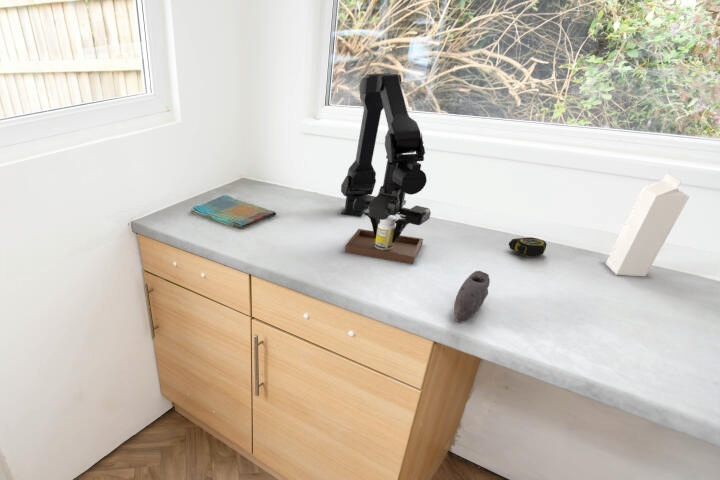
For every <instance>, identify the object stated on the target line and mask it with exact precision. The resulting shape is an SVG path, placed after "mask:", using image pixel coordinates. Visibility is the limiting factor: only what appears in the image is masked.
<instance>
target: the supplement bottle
mask: <svg viewBox="0 0 720 480" xmlns="http://www.w3.org/2000/svg"><path fill="white" fill-rule="evenodd" d="M397 217H398V216H396V215H395V216H393V215H390V216H388V218H387V219H385V220H381V219H380V223H379V224H378V228H377V234H376V241H375V247H376V248H377V249H380V250H390V249H392V248H393V245H394V243H392V240H393V235H394V231H395V227H396V223H395V221H396V220H398V218H397Z"/></svg>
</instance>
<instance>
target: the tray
mask: <svg viewBox="0 0 720 480" xmlns="http://www.w3.org/2000/svg"><path fill="white" fill-rule="evenodd" d="M375 241H376V238H375V236H374V231H373V230H369V229H363V228H358V229H357V230H356V232H354V233H353V235H352V237H351V238H350V239H349V240H348V242H347V243H346V244H345V249H344V253H347V254H353V255H358V256H363V257H369V258H375V259H380V260H386V261H393V262H398V263H403V264H410V265H414V263H415V260H416V259H417V256H418V254H419V252H420V251H421V248H422V246H423V243H424V238H422V237H415V236H408V235H402V234H400V236H399V237H398V239H397V240H396V242H394V245H393V248H392V249H390V250H380V249H377V248H376V247H375Z"/></svg>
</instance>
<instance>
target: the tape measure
mask: <svg viewBox="0 0 720 480" xmlns="http://www.w3.org/2000/svg"><path fill="white" fill-rule="evenodd" d="M508 246H509V249H510V250H511V251H514V252H515V253H516V254H518V255H520V256H524V257H528V258H530V257H531V258H535V257H541V256H543V254H544V253H545V251H546V249H547V242H546V241H545V240H543V239H540V238H537V237H529V236H528V237H519V238H512V239H511V240H509V241H508Z"/></svg>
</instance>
